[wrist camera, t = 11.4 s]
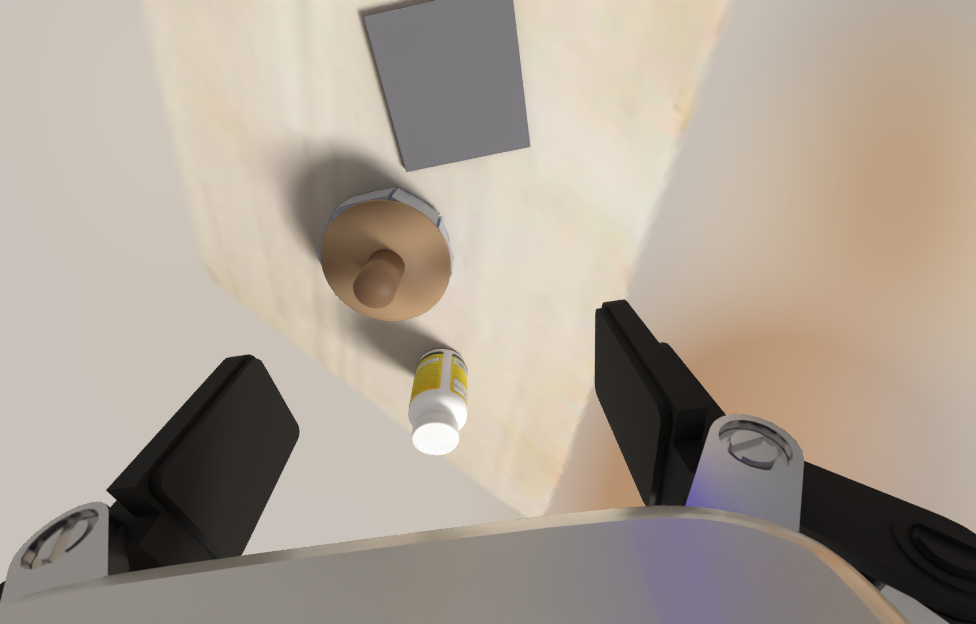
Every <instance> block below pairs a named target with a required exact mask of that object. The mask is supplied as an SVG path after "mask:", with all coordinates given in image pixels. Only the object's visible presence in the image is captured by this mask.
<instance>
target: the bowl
mask: <svg viewBox="0 0 976 624" xmlns="http://www.w3.org/2000/svg"><path fill="white" fill-rule="evenodd" d="M373 199H389V200H395V201H399V202H402V203H405V204H408V205H410V206H412V207H414V208H416V209H418V210H419V211H421V212H422V213H424V214H425V215H426V216H428V217H429V218H430V219H431V220H432V221H433V222H434V223H435V225H436V226H437V227H438V228H439V230H440V231H441V233H442V234H443V236H444V238H445V240H446V242H447V245H448V248H449V251H450V257H451V271H450V276H451V273H452V266H453V254H452V251H451V247H450V241H449V236H448V233H447V230H446V227H445V225H444V221H443V218H442V216H440V217H439V214H440V213H439V212H437V211H436V210H434V209H433V208H432V207H430V206H429V205H428V204H427V203H426V202H424V201H423V200H421V199H420V198H418V197H416V196H414V195H412V194H409V193H407V192H405V191H403V190H401V189H400V188H398V189H397V190H396V189H395V187H393V188H389V189H382V190H376V191H372V192H369V193H366V194H363V195H359V196H355V197H350V198H349V199H348V200H346V201H345V202H344V203H342V204H341V205H340V206H338V207H337V208H336V209H335V210H334V213H333V215H332V217H331V219H330V221H329V224H328V226H327V228H326V230H327V229H328V227H329V225H330V224H331V223H332V222H333V220H334V219H335V218H336V217H337V216H338V215H340V214H341V213H342V212H343V211H344V210H346V209H347V208H349V207H351V206H352V205H355V204H357V203H359V202H363V201H367V200H373ZM326 230H325V232H326ZM325 232H324V235H325ZM324 235H323V237H324ZM323 237H322V239H321V241H320V243H319V246H318V248H317V250H316V251H318V253H317V256H318V259H319V261H320V263H321V245H322V241H323ZM321 265H322V264H321ZM335 295H336V294H335ZM336 296H337V295H336ZM339 299H340V298H339ZM340 300H341V299H340Z"/></svg>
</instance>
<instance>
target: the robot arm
mask: <svg viewBox="0 0 976 624" xmlns="http://www.w3.org/2000/svg"><path fill="white" fill-rule="evenodd" d="M595 389H596V394H597V396H598V399H599V401H600V404H601V406H602V408H603V410H604V413H605V415H606V417H607V420H608V422H609V424H610V427H611V429H612V431H613V433H614V436H615V438H616V440H617V443H618V445H619V447H620V450H621V452H622V454H623V456H624V459H625V461H626V463H627V466H628V468H629V470H630V473H631V475H632V477H633V479H634V482H635V484H636V486H637V489H638V491H639V493H640V496H641V498H642V500H643V502H644V504H645V505H646V506H644V507H627V508H615V509H605V510H596V511H587V512H578V513H569V514H560V515H551V516H541V517H533V518H526V519H518V520H510V521H502V522H494V523H486V524H479V525H470V526H462V527H455V528H447V529H439V530H431V531H424V532H416V533H408V534H401V535H393V536H386V537H377V538H370V539H362V540H355V541H347V542H340V543H333V544H325V545H318V546H310V547H302V548H295V549H287V550H281V551H273V552H266V553H258V554H251V555H244V556H241V555H242V553H243V551H244V549H245V547H246V545H247V543H248V541H249V539H250V537H251V535H252V533H253V531H254V529H255V527H256V525H257V523H258V520H259V518H260V516H261V514H262V512H263V510H264V508H265V506H266V504H267V502H268V500H269V498H270V496H271V494H272V491H273V490H274V488H275V485H276V483H277V481H278V479H279V477H280V475H281V473H282V471H283V469H284V467H285V465H286V463H287V461H288V459H289V457H290V454H291V452H292V450H293V448H294V446H295V444H296V442H297V440H298V437H299V426H298V424H297V422H296V420H295V419H294V417H293V415H292V413H291V412H290V410H289V408H288V406H287V405H286V403H285V401H284V399H283V398H282V396H281V394H280V392H279V391H278V389H277V387H276V385H275V384H274V382H273V380H272V378H271V377H270V375H269V373H268V371H267V370H266V368H265V366H264V364H263V363H262V361H261V360H259V359H256V358H255V357H254V356H252V355H242V356H235V357H229V358H226V359H225V360H223V362H222V363H221V364H220V365H219V366H218V367H217V368H216V369H215V370H214V372H213V373H212V374H211V375H210V376H209V377H208V378H207V379H206V380H205V382H204V383H203V384H202V385H201V386H200V387H199V388H198V389H197V390H196V391H195V392H194V394H193V395H192V396H191V397H190V398H189V399H188V400H187V401H186V402H185V404H184V405H183V406H182V407H181V408H180V409H179V410H178V411H177V412H176V413H175V415H174V416H173V417H172V418H171V419H170V420H169V421H168V422H167V423H166V425H165V426H164V427H163V428H162V429H161V430H160V431H159V432H158V433H157V434H156V436H155V437H154V438H153V439H152V440H151V441H150V442H149V443H148V444H147V446H146V447H145V448H144V449H143V450H142V451H141V452H140V453H139V454H138V455H137V457H136V458H135V459H134V460H133V461H132V462H131V463H130V464H129V465H128V467H127V468H126V469H125V470H124V471H123V472H122V473H121V474H120V476H118V478H117V479H116V480H115V481H114V482H113V483H112V484H111V485H110V486H109V488H108V489H107V491H108V493H110V494H111V495H112V496H113V497H114V498H115V499H116V502H115V503H114V504H113V505H112V506H111V507H109V506H108V505H106V504H104V503H102V502H91V503H88V504H84V505H81V506H78V507H76V508H74V509H72V510H70V511H67V512H65V513H63V514H62V515H60V516H59V517H57V518H55V519H54V520H52V521H51V522H49V523H48V524H47V525H45V526H44V527H43V528H41V529H40V530H39V531H37V532H36V533H35V534H34V535H33V536H32V537H31V538H30V539H29V540H28V541H27V542H26V543H24V544H23V546H22V547H21V548H20V549H19V551H18V552H17V553H16V555H15V556H14V557H13V560H12V562H11V564H10V566H9V569H8V573H7V577H6V581H4V582H3V583H1V584H0V624H976V534H975V533H973V532H972V531H970V530H969V529H967V528H965V527H964V526H962V525H960V524H958V523H956V522H954V521H952V520H949V519H948V518H945V517H943V516H941V515H938V514H936V513H934V512H931V511H929V510H926V509H923V508H921V507H919V506H916V505H914V504H911V503H908V502H906V501H903V500H901V499H899V498H896V497H893V496H891V495H888V494H886V493H883V492H881V491H878V490H876V489H873V488H871V487H868V486H866V485H863V484H861V483H858V482H856V481H853V480H851V479H848V478H846V477H843V476H841V475H838V474H836V473H833V472H831V471H828V470H826V469H823V468H821V467H818V466H816V465H813V464H811V463H808V462H806V461H804V457H803V452H802V449H801V448H800V446H799V445H798V443H797V441H796V440H795V439H794V438H793V437H792V436H791V435H790V434H788V433H787V432H786V431H785V430H783V429H782V428H780V427H778V426H777V425H775V424H774V423H772V422H769V421H767V420H764V419H762V418H759V417H755V416H750V415H746V414H731V415H725V413H724V412H723V411H722V410H721V408H720V407H719V406H718V405H717V403H716V402H715V401H714V400H713V399H712V397H711V396H710V395H709V393H708V392H707V391H706V390H705V389H704V387H703V386H702V385H701V384H700V382H699V381H698V380H697V379H696V377H695V376H694V375H693V374H692V373H691V371H690V370H689V369H688V368H687V367H686V365H685V364H684V363H683V361H682V360H681V359H680V358H679V356H678V355H677V354H676V353H675V352H674V350H673V349H672V348H671V347H670V346H669V345H668V344H667V343H664V342H662V343H659V342H658V341H657V339H656V338H655V337H654V336H653V334H652V333H651V332H650V330H649V329H648V328H647V327H646V325H645V324H644V323H643V321H642V320H641V319H640V318H639V317H638V315H637V314H636V312H635V311H634V310H633V308H632V307H631V306H630V305H629V303H628V302H627V301H626V300H617V301H610V302H604V303H603V304H602V308H599V309H596V313H595Z"/></svg>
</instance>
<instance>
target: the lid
mask: <svg viewBox="0 0 976 624" xmlns="http://www.w3.org/2000/svg"><path fill="white" fill-rule="evenodd" d="M321 264H322V269H323V272H324V275H325V278H326V280H327V282H328V284H329V285H330V287H331V288H332V290H333V291H334V293H335V294H336V295H337V296H338V297H339V298H340V299H341V300H342V301H343V302H344V303H345V304H346V305H348V306H349V307H350V308H352V309H353V310H355V311H357V312H358V313H361V314H363V315H365V316H368V317H371V318H374V319H378V320H384V321H402V320H407V319H412V318H414V317H417V316H420V315H421V314H423V313H425V312H427V311H428V310H430V309H431V308H432V307H433V306H434V305H435V304H437V302H438V301H439V300H440V299H441V297H442V296H443V294H444V292H445V290H446V288H447V286H448V282H449V279H450V271H451V257H450V251H449V248H448V245H447V242H446V240H445V238H444V236H443V234H442V233H441V231H440V230H439V228H438V227H437V226H436V225H435V223H434V222H433V221H432V220H431V219H430V218H429V217H428V216H426V215H425V214H424V213H422V212H421V211H419V210H418V209H416V208H414V207H412V206H410V205H408V204H405V203H402V202H399V201H395V200H389V199H373V200H367V201H363V202H359V203H357V204H355V205H352V206H351V207H349V208H347V209H346V210H344V211H343V212H342V213H341V214H340V215H338V216H337V217H336V218H335V219H334V220H333V222H332V223H331V224H330V225H329V227H328V229H327V230H326V232H325V235H324V237H323V241H322V245H321Z"/></svg>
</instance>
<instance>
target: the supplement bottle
mask: <svg viewBox="0 0 976 624" xmlns="http://www.w3.org/2000/svg"><path fill="white" fill-rule="evenodd" d="M408 415H409V420H410V423H411V424H412V426H413V432H412V442H413V444H414V446H415V447H416V448H417V449H418V450H420V451H421V452H423V453H426V454H431V455H441V454H445V453H448V452H450V451H451V450H453V449H454V448H455V447H456V446H457V444H458V441H459V430H460V429H461V428H462V426H463V425H464V423H465V421H466V417H467V365H466V363H465V361H464V359H463V358H462V357H461V356H460V355H459V354H458V353H456V352H454V351H452V350H448V349H435V350H432V351H429V352H427V353H426V354H424V355H423V356H422V357H421V358H420V360H419V362H418V364H417V368H416V373H415V378H414V383H413V388H412V394H411V400H410V405H409V412H408Z"/></svg>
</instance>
